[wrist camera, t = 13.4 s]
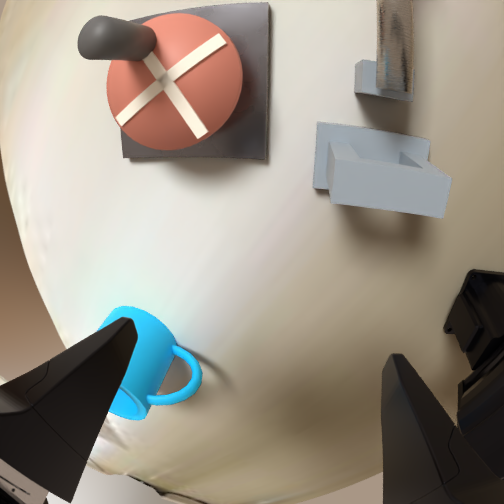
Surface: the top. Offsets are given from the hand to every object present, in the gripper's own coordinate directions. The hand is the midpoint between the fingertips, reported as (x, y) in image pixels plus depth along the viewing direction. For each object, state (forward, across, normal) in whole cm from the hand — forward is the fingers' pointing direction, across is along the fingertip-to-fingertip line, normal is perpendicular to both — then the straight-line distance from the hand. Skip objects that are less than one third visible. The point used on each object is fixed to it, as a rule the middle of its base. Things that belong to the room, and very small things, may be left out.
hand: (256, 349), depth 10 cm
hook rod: (+10, -5, -15) cm, 19 cm away
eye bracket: (+12, -5, -6) cm, 14 cm away
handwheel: (+10, +7, -8) cm, 15 cm away
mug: (+12, +12, +15) cm, 23 cm away
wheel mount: (+12, +6, -8) cm, 16 cm away
